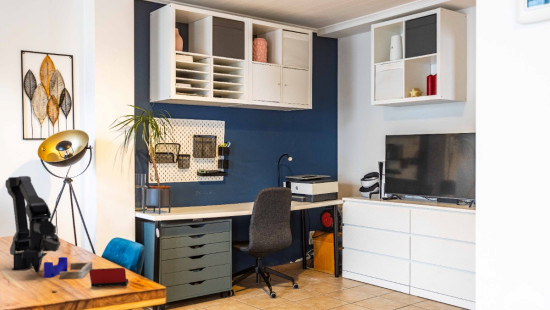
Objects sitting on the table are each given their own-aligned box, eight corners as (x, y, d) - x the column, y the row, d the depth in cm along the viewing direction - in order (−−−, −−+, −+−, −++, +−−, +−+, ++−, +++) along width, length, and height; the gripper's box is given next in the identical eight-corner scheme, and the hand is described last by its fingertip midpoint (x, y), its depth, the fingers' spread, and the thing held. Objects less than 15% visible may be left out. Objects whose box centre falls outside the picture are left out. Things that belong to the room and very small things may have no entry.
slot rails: (59, 279, 214) (59, 272, 214) (71, 268, 233) (71, 262, 233) (82, 278, 215) (82, 271, 215) (92, 268, 234) (92, 262, 234)
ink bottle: (62, 249, 282) (62, 225, 282) (47, 251, 275) (47, 227, 275) (50, 247, 288) (50, 224, 288) (35, 250, 280) (35, 226, 280)
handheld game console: (128, 281, 210) (128, 262, 210) (125, 288, 200) (125, 267, 199) (94, 283, 208) (94, 263, 208) (89, 290, 198) (89, 269, 198)
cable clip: (57, 271, 229) (57, 256, 229) (67, 271, 228) (67, 257, 228) (40, 277, 217) (40, 262, 217) (50, 278, 217) (50, 262, 217)
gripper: (51, 235, 214) (51, 276, 214) (64, 229, 232) (64, 266, 232) (21, 236, 213) (21, 277, 213) (36, 230, 231) (36, 267, 231)
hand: (37, 272), depth 222 cm, fingers closed
